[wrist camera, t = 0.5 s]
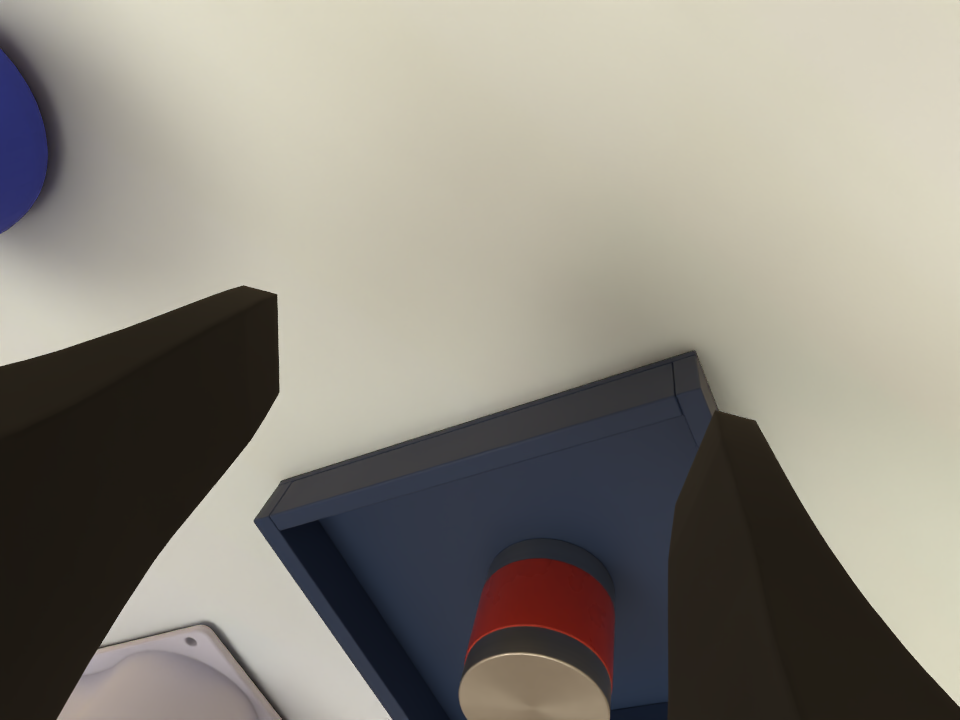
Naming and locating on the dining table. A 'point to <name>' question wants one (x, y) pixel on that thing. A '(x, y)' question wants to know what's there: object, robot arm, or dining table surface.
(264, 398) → the robot arm
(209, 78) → the dining table surface
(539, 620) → the tin can
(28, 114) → the mug
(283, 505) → the tray
